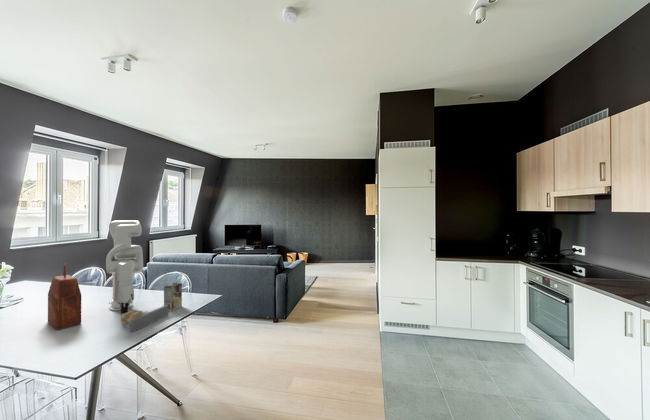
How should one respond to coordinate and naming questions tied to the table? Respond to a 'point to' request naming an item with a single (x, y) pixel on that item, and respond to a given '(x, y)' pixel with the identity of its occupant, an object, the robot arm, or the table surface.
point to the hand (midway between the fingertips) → (124, 312)
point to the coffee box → (173, 296)
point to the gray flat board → (148, 318)
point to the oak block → (130, 316)
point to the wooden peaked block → (64, 302)
